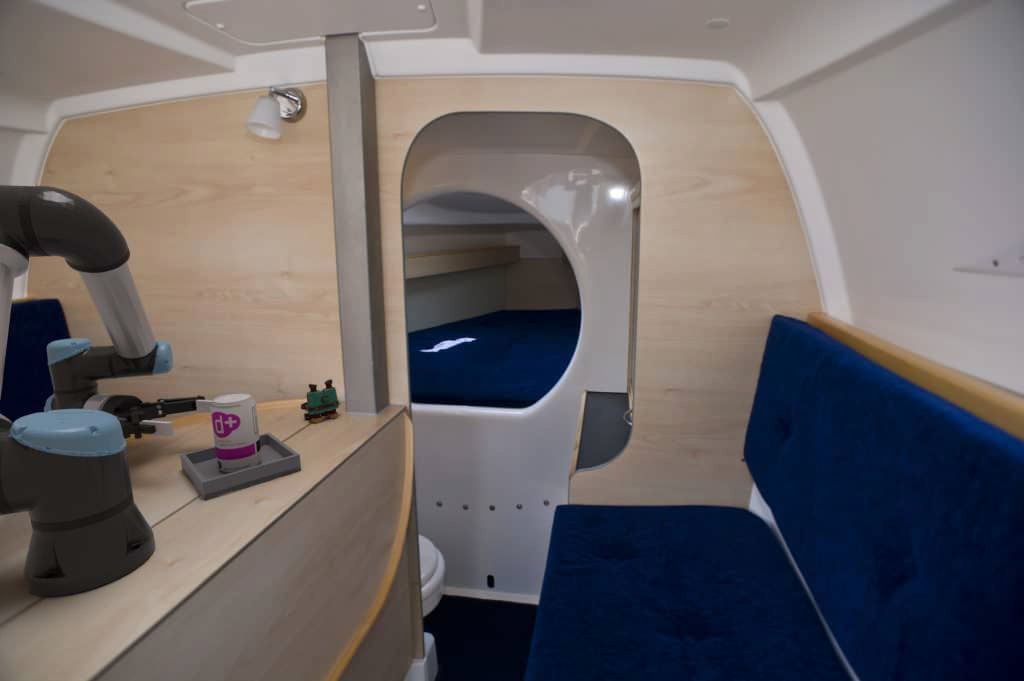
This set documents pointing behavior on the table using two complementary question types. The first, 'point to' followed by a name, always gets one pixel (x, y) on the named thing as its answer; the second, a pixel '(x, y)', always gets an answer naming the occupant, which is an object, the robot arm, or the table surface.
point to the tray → (217, 482)
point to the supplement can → (236, 432)
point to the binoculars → (321, 402)
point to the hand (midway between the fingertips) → (198, 417)
